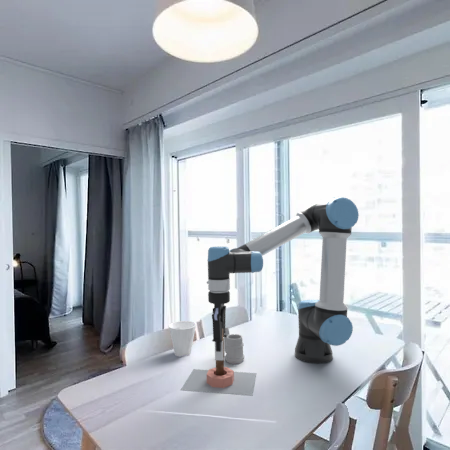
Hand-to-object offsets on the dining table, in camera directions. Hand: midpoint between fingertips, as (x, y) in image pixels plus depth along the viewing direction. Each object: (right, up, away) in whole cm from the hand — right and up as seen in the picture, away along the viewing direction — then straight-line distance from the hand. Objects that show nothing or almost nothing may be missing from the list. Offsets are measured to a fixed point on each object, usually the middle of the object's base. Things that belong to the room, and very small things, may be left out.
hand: (219, 357), depth 114 cm
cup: (-16, -9, +26) cm, 32 cm away
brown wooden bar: (0, -6, 0) cm, 6 cm away
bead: (0, -8, 0) cm, 8 cm away
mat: (0, -8, 0) cm, 8 cm away
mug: (+5, -9, +20) cm, 22 cm away
